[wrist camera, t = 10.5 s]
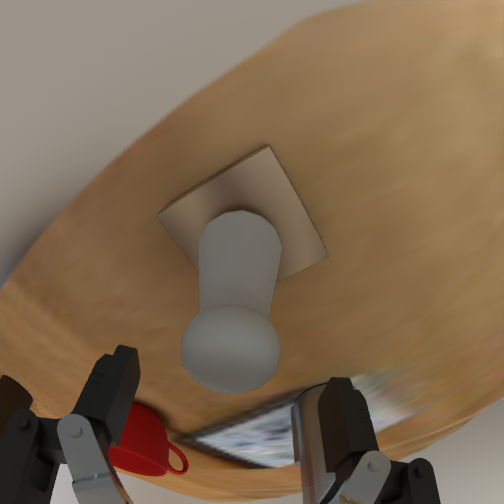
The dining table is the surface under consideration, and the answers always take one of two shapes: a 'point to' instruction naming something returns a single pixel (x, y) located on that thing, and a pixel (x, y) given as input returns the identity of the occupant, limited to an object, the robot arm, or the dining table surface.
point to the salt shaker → (234, 305)
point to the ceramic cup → (144, 445)
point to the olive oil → (11, 400)
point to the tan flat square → (252, 200)
